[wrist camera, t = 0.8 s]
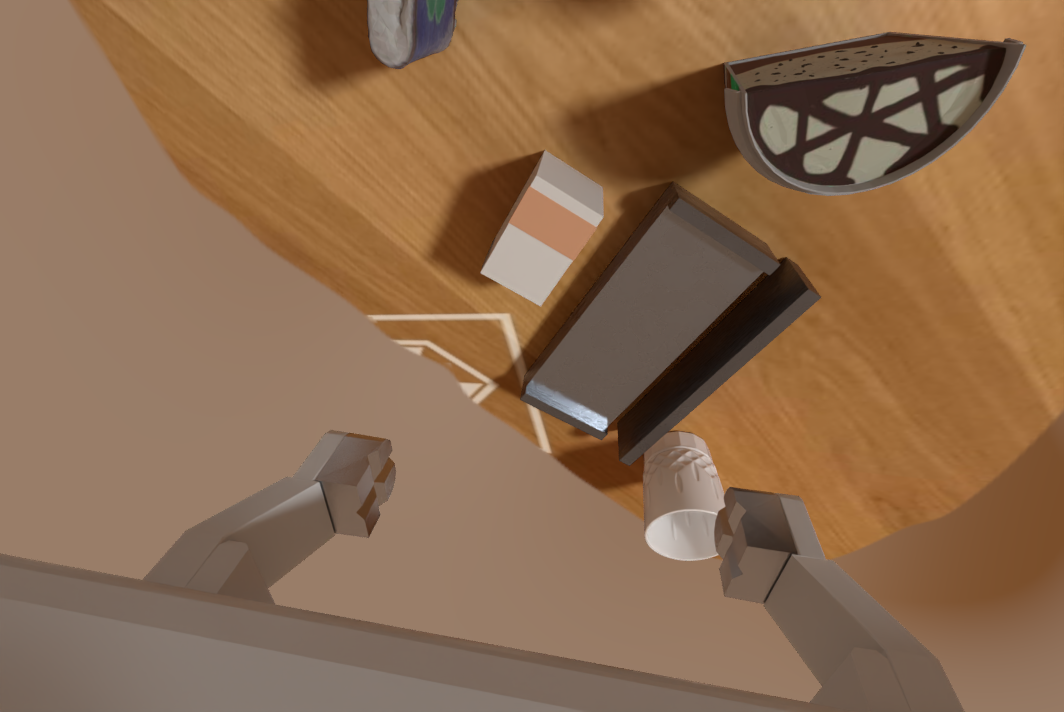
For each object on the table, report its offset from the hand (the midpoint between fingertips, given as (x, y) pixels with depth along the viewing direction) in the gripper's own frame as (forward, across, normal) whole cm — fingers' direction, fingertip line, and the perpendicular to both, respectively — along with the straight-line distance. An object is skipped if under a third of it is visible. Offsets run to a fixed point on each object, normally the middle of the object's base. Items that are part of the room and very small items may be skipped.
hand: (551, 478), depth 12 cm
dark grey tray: (+30, -5, +12) cm, 33 cm away
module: (+29, +4, +3) cm, 30 cm away
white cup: (+32, -11, +28) cm, 43 cm away
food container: (+30, -12, -6) cm, 32 cm away
